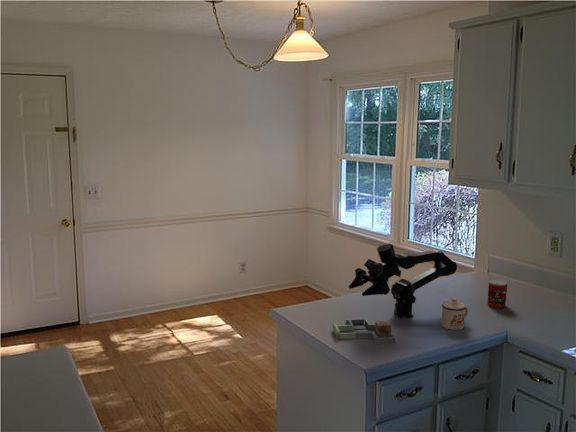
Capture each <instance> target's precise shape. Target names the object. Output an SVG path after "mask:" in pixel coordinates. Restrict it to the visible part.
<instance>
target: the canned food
mask: <svg viewBox="0 0 576 432" xmlns="http://www.w3.org/2000/svg"><path fill="white" fill-rule="evenodd" d="M487 287H488V290H487V305H488V307H490V308H494V309H504V308H505V307H506V304H507V291H508V282H507V281H506V280H502V279H489V281H488V286H487Z"/></svg>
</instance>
